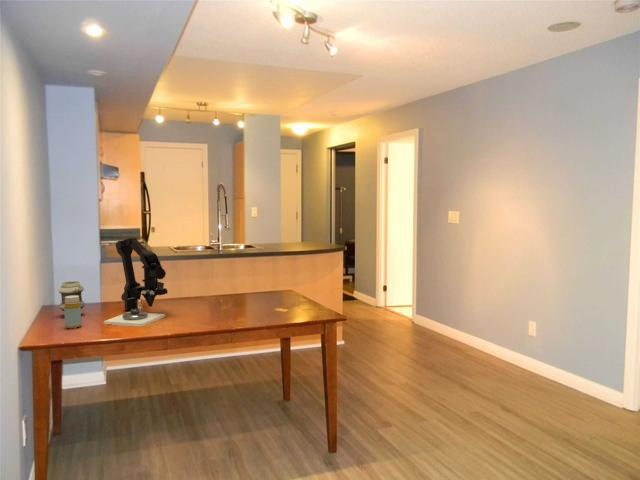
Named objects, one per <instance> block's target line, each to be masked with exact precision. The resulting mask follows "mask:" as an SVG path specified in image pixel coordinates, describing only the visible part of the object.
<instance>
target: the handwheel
mask: <svg viewBox="0 0 640 480" xmlns="http://www.w3.org/2000/svg"><path fill="white" fill-rule="evenodd" d="M143 300H144V298H143V299H142V298H140V299H138V309H131V312H130V313H128V312H124V313H122V314H123V319H128V320H134V319H142V318H146V317H147V316H148V313H149V312H146V311H143V310H144V301H143Z"/></svg>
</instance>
